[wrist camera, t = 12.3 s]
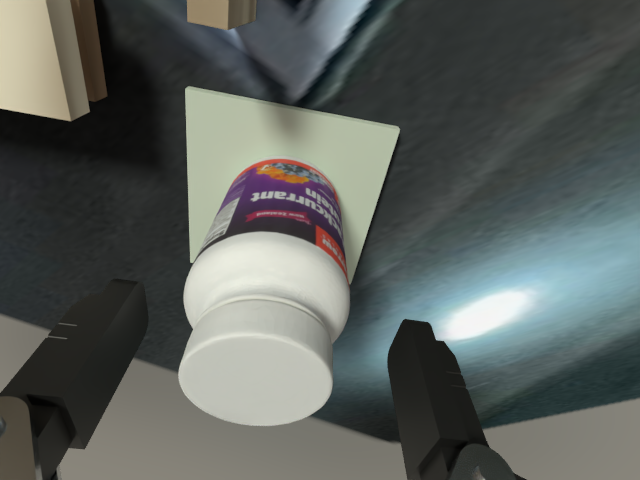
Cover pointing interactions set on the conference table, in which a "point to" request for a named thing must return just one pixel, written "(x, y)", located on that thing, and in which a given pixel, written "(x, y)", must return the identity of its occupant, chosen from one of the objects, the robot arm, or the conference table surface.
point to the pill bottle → (267, 297)
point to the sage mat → (288, 140)
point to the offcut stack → (50, 57)
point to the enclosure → (221, 12)
